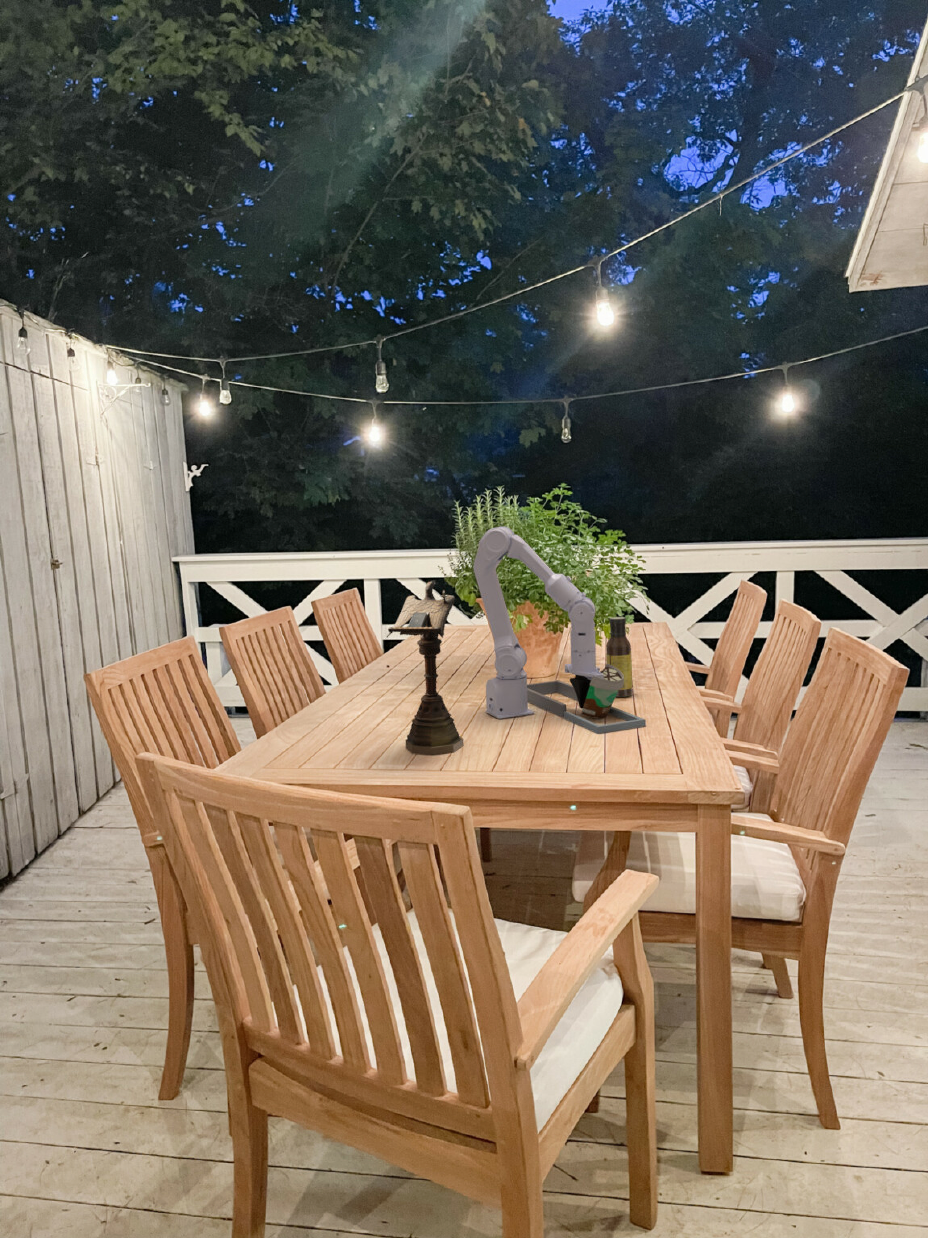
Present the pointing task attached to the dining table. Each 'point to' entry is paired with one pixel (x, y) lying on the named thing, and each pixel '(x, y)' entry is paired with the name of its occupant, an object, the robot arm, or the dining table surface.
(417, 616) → the book lectern
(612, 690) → the food container
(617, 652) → the sauce bottle
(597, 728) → the frame
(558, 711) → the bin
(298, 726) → the dining table surface
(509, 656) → the robot arm
